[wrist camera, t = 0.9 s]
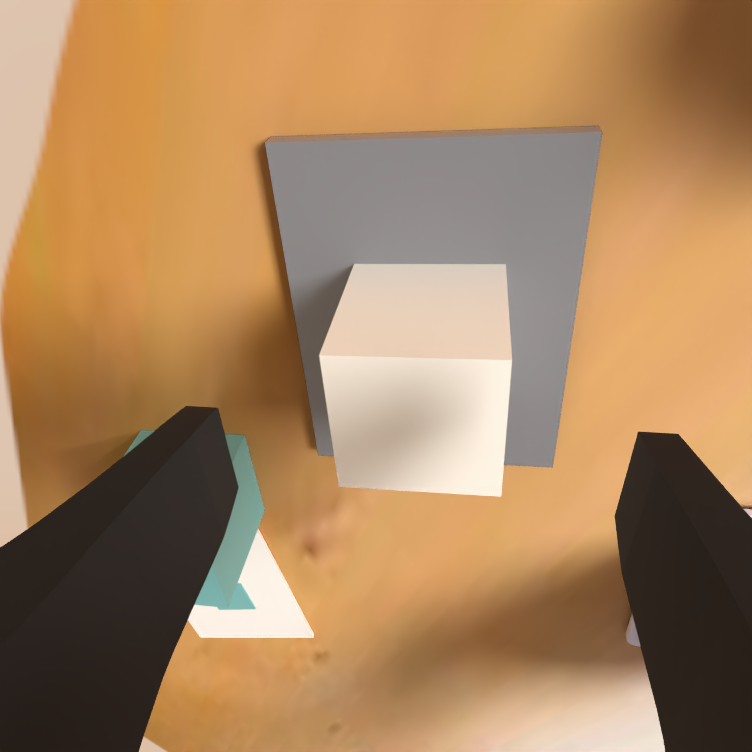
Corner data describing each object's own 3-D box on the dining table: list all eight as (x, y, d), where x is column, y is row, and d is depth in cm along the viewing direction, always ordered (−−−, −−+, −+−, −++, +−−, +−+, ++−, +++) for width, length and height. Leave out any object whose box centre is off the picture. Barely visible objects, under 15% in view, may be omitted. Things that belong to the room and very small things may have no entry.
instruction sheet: (314, 634, 33) (313, 638, 33) (201, 635, 35) (200, 638, 35) (250, 512, 28) (248, 516, 27) (119, 520, 29) (117, 523, 29)
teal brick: (265, 509, 27) (228, 608, 24) (170, 503, 28) (119, 597, 24) (245, 434, 25) (199, 531, 21) (141, 429, 25) (78, 522, 22)
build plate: (551, 456, 23) (552, 467, 22) (321, 445, 24) (318, 455, 24) (598, 125, 16) (602, 132, 15) (270, 136, 17) (264, 142, 17)
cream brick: (497, 386, 21) (501, 496, 17) (365, 382, 21) (338, 486, 17) (505, 264, 18) (512, 360, 14) (354, 264, 19) (319, 355, 15)
